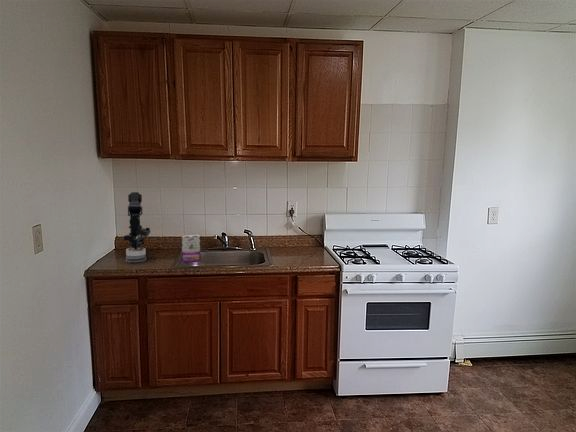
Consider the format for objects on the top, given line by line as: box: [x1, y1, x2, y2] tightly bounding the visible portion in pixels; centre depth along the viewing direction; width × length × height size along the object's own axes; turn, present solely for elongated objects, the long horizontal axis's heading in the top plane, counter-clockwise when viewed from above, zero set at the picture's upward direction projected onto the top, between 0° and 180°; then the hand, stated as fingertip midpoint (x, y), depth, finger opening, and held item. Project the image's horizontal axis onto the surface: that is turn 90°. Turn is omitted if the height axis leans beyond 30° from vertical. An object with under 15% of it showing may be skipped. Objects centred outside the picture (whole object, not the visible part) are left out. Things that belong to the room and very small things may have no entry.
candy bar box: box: [181, 234, 202, 264], centre depth 232 cm, size 11×5×16 cm, turn 106°
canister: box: [125, 246, 147, 264], centre depth 232 cm, size 12×12×7 cm
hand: (135, 249), depth 232 cm, fingers closed, pressing on lid
